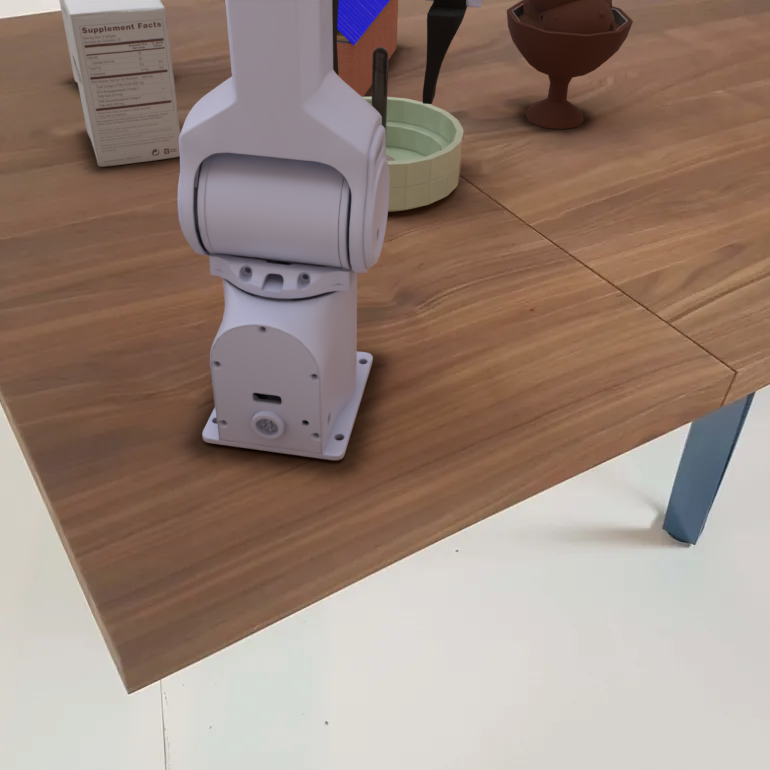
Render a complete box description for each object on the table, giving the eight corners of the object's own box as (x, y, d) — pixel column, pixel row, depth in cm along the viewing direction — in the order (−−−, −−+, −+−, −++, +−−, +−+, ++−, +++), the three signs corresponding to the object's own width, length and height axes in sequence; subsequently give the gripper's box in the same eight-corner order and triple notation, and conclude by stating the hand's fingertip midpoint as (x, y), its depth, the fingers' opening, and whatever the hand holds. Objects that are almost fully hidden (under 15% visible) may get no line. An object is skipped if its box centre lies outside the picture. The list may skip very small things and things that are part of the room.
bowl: (449, 226, 70) (453, 172, 68) (282, 208, 72) (279, 154, 69) (466, 153, 80) (470, 104, 78) (319, 139, 82) (319, 90, 79)
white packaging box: (86, 134, 81) (57, -15, 74) (169, 124, 84) (150, -22, 76) (96, 169, 76) (67, 13, 68) (185, 158, 78) (166, 4, 70)
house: (233, 102, 88) (222, -27, 81) (296, 36, 103) (292, -77, 96) (353, 116, 86) (354, -14, 79) (400, 47, 101) (404, -68, 94)
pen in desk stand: (392, 187, 74) (397, 55, 67) (356, 183, 74) (357, 52, 67) (398, 171, 76) (403, 42, 69) (363, 167, 76) (364, 39, 70)
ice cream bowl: (613, 146, 82) (647, -31, 73) (489, 133, 84) (507, -42, 75) (614, 102, 91) (645, -62, 81) (501, 91, 92) (519, -72, 83)
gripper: (495, -107, 64) (477, 84, 73) (294, -120, 66) (300, 68, 75) (487, -85, 59) (469, 118, 67) (268, -100, 61) (277, 100, 69)
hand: (379, 94), depth 71 cm, fingers open, 7 cm apart
